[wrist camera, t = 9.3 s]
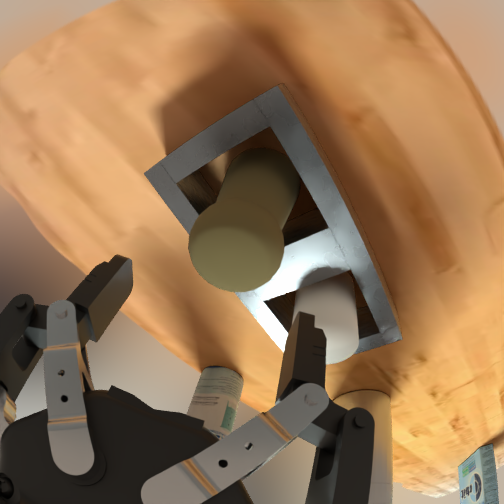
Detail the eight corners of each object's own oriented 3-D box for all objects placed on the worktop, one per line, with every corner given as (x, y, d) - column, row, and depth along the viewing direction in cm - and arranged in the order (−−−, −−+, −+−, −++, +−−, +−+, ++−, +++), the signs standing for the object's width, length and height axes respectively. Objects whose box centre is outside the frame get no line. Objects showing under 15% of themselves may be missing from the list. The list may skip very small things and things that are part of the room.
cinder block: (396, 310, 29) (402, 339, 26) (300, 340, 34) (297, 368, 31) (283, 82, 19) (277, 85, 16) (166, 156, 24) (143, 173, 21)
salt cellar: (361, 298, 29) (367, 354, 23) (311, 315, 31) (307, 370, 26) (340, 256, 27) (344, 312, 21) (286, 277, 29) (277, 332, 23)
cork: (273, 133, 22) (242, 187, 13) (314, 197, 24) (311, 287, 15) (211, 171, 24) (150, 243, 15) (252, 227, 27) (218, 320, 18)
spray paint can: (251, 389, 42) (220, 514, 26) (213, 389, 44) (176, 504, 28) (234, 364, 39) (192, 504, 23) (193, 365, 41) (146, 491, 25)
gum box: (479, 447, 50) (484, 519, 32) (493, 442, 49) (500, 513, 30) (457, 466, 60) (459, 527, 42) (470, 463, 59) (473, 522, 40)
